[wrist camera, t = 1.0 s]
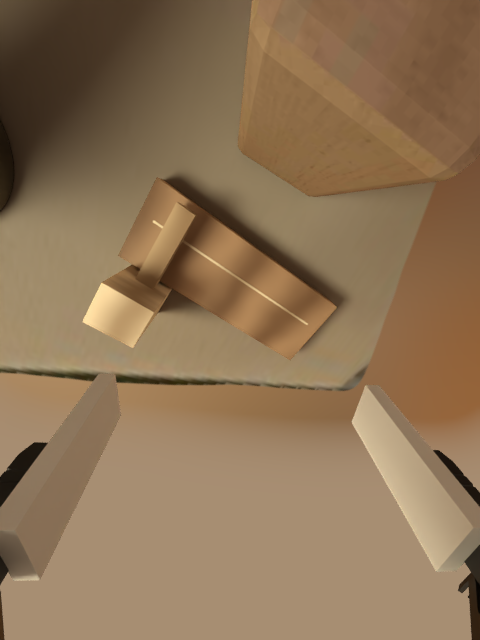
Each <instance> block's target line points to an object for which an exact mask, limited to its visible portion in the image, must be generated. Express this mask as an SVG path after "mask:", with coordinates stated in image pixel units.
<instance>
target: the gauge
mask: <svg viewBox="0 0 480 640" xmlns="http://www.w3.org/2000/svg"><path fill="white" fill-rule="evenodd" d="M196 217H197V214H195V213H194V212H192V211H191V210H190V209H188V208H187V207H185V206H184V205H182V204H181V203H180V202H176V204H175V206H174V208H173V210H172V212H171V214H170V215H169V217H168V219H167V221H166V223H165V225H164V227H163V228H162V230H161V232H160V234H159V236H158V238H157V240H156V241H155V243H154V245H153V247H152V249H151V251H150V253H149V254H148V256H147V258H146V260H145V262H144V264H143V266H142V267H141V269H139V268H138V267H136V266H134V265H131V266H129V267H127V268H126V269H124V270H122V271H121V272H119V273H117V274H115V275H114V276H112V277H110V278H109V279H107V280H105V281H103V282H102V283H101V285H100V287H99V289H98V291H97V293H96V295H95V297H94V299H93V301H92V303H91V305H90V307H89V309H88V312H87V314H86V316H85V318H84V320H83V322H84V323H86V324H88V325H89V326H91V327H93V328H95V329H97V330H99V331H101V332H103V333H105V334H107V335H109V336H111V337H113V338H115V339H116V340H118V341H120V342H122V343H124V344H126V345H128V346H130V347H132V348H133V347H134V346H135V344H136V343H137V342H138V340H139V339H140V337H141V336H142V334H143V333H144V332H145V330H146V329H147V327H148V326H149V324H150V323H151V322H152V320H153V319H154V317H155V316H156V315H157V313H158V312H159V310H160V308H161V307H162V305H163V303H164V302H165V300H166V298H167V297H168V295H169V293H170V292H171V290H172V288H171V287H169V286H167V285H166V284H164V283H162V282H161V281H160V279H161V277H162V275H163V274H164V272H165V270H166V269H167V267H168V265H169V263H170V262H171V260H172V258H173V256H174V255H175V253H176V251H177V249H178V248H179V246H180V244H181V243H182V241H183V239H184V237H185V236H186V234H187V232H188V230H189V229H190V227H191V225H192V224H193V222H194V220H195V218H196Z"/></svg>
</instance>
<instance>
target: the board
mask: <svg viewBox="0 0 480 640" xmlns="http://www.w3.org/2000/svg"><path fill="white" fill-rule="evenodd" d="M176 202H180V203H181V204H182V205H184V206H185V207H187V208H188V209H190V210H191V211H192V212H194V213H195V214H197V217H196V218H195V220H194V222H193V224H192V225H191V227H190V229H189V230H188V232H187V234H186V236H185V237H184V239H183V241H182V243H181V244H180V246H179V248H178V249H177V251H176V253H175V255H174V256H173V258H172V260H171V262H170V263H169V265H168V267H167V269H166V270H165V272H164V274H163V275H162V277H161V279H160V281H161V282H162V283H164V284H166V285H167V286H169V287H171V288H172V289H174V290H175V291H177V292H179V293H180V294H182V295H184V296H185V297H187V298H189V299H190V300H192V301H194V302H195V303H197V304H198V305H200V306H202V307H203V308H205V309H207V310H208V311H210V312H212V313H213V314H215V315H217V316H218V317H220V318H221V319H223V320H225V321H226V322H228V323H230V324H231V325H233V326H235V327H236V328H238V329H240V330H241V331H243V332H245V333H246V334H248V335H249V336H251V337H253V338H254V339H256V340H258V341H259V342H261V343H263V344H264V345H266V346H268V347H269V348H271V349H272V350H274V351H276V352H277V353H279V354H281V355H282V356H284V357H286V358H287V359H289V360H291V359H292V357H293V356H294V355H295V354H296V353H297V352H298V351H299V350H300V348H301V347H302V346H303V345H304V344H305V343H306V342H307V341H308V340H309V338H310V337H311V336H312V335H313V334H314V333H315V332H316V331H317V329H318V328H319V327H320V326H321V325H322V324H323V323H324V322H325V320H326V319H327V318H328V317H329V316H330V315H331V314H332V313H333V311H334V310H335V309H336V308H337V307H336V306H335V305H334V304H333V303H332V302H331V301H330V300H329V299H327V298H326V297H325V296H323V295H322V294H320V293H319V292H318V291H316V290H315V289H314V288H312V287H311V286H309V285H308V284H307V283H305V282H304V281H302V280H301V279H300V278H298V277H297V276H296V275H294V274H293V273H291V272H290V271H289V270H287V269H286V268H284V267H283V266H282V265H280V264H279V263H278V262H276V261H275V260H273V259H272V258H271V257H269V256H268V255H266V254H265V253H264V252H262V251H261V250H260V249H258V248H257V247H255V246H254V245H253V244H251V243H250V242H248V241H247V240H246V239H244V238H243V237H242V236H240V235H239V234H237V233H236V232H235V231H233V230H232V229H231V228H229V227H228V226H226V225H225V224H224V223H222V222H221V221H219V220H218V219H217V218H215V217H214V216H213V215H211V214H210V213H208V212H207V211H206V210H204V209H203V208H201V207H200V206H199V205H197V204H196V203H195V202H193V201H192V200H190V199H189V198H188V197H186V196H185V195H183V194H182V193H181V192H179V191H178V190H177V189H175V188H174V187H172V186H171V185H170V184H168V183H167V182H166V181H164V180H162V179H160V178H156V180H155V182H154V184H153V186H152V188H151V190H150V192H149V194H148V196H147V198H146V200H145V202H144V204H143V206H142V208H141V210H140V212H139V214H138V216H137V218H136V220H135V222H134V224H133V227H132V229H131V231H130V233H129V235H128V237H127V239H126V241H125V243H124V245H123V247H122V249H121V251H120V253H119V255H118V256H120V257H121V258H123V259H124V260H126V261H128V262H129V263H131V264H133V265H134V266H136V267H138V268H139V269H141V267H142V266H143V264H144V262H145V260H146V258H147V256H148V254H149V253H150V251H151V249H152V247H153V245H154V243H155V241H156V240H157V238H158V236H159V234H160V232H161V230H162V228H163V227H164V225H165V223H166V221H167V219H168V217H169V215H170V214H171V212H172V210H173V208H174V206H175V204H176Z"/></svg>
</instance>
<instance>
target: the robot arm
mask: <svg viewBox="0 0 480 640" xmlns="http://www.w3.org/2000/svg"><path fill="white" fill-rule="evenodd" d="M13 177H14V167H13V158H12V153H11V148H10V145H9V141H8V138H7V136H6V133H5V131H4V128H3V126H2V124H1V122H0V210H1V209H2V208H3V207H4V205H5V204H6V202H7V200H8V198H9V196H10V193H11V190H12V185H13ZM120 416H121V412H120V405H119V398H118V391H117V384H116V377H115V374H98V376H97V377H96V379H95V380H94V381H93V383H92V384H91V386H90V387H89V388H88V389H87V391H86V392H85V393H84V395H83V396H82V398H81V399H80V401H79V402H78V403H77V404H76V406H75V407H74V408H73V410H72V411H71V412H70V414H69V415H68V417H67V418H66V419H65V421H64V422H63V423H62V425H61V426H60V427H59V429H58V430H57V431H56V433H55V434H54V435H53V437H52V438H51V440H50V441H49V442H48V443H33V444H32V445H30V446H29V447H28V448H26V449H25V450H24V451H22V452H21V453H20V454H19V455H18V456H17V457H16V458H15V460H14V461H13V462H12V463H11V464H10V466H9V467H8V468H7V471H6V472H4V473H3V474H2V475H1V477H0V584H1V582H2V581H3V579H4V578H5V576H6V574H7V573H8V572H9V574H10V576H11V577H12V579H13V580H40V579H41V577H42V575H43V573H44V571H45V569H46V567H47V565H48V563H49V561H50V559H51V556H52V555H53V553H54V550H55V548H56V546H57V544H58V542H59V540H60V538H61V536H62V534H63V532H64V530H65V528H66V526H67V524H68V522H69V520H70V518H71V516H72V514H73V512H74V510H75V508H76V506H77V504H78V502H79V500H80V498H81V496H82V494H83V491H84V489H85V487H86V485H87V483H88V481H89V479H90V477H91V475H92V473H93V471H94V469H95V467H96V465H97V463H98V461H99V459H100V457H101V455H102V453H103V451H104V449H105V447H106V445H107V443H108V441H109V439H110V437H111V435H112V433H113V431H114V428H115V427H116V424H117V422H118V420H119V418H120ZM352 423H353V425H354V427H355V429H356V431H357V432H358V434H359V436H360V438H361V440H362V441H363V443H364V445H365V447H366V448H367V450H368V452H369V454H370V456H371V457H372V459H373V461H374V463H375V464H376V466H377V468H378V470H379V471H380V473H381V475H382V477H383V479H384V480H385V482H386V484H387V486H388V487H389V489H390V491H391V492H392V494H393V496H394V498H395V500H396V501H397V503H398V505H399V507H400V509H401V510H402V512H403V514H404V516H405V517H406V519H407V521H408V523H409V524H410V526H411V528H412V530H413V531H414V533H415V535H416V537H417V538H418V540H419V542H420V544H421V546H422V547H423V549H424V551H425V553H426V554H427V556H428V558H429V560H430V562H431V563H432V565H433V567H434V569H435V570H436V572H444V571H457V570H458V569H459V568H460V567H461V566H462V565H463V563H464V562H465V563H466V565H467V566H468V568H469V569H470V571H471V573H470V574H469V575H468V576H467V577H466V579H464V581H463V582H462V583H461V584H460V585H459V589H458V591H460V592H461V593H463V592H464V591H465V590H466V589H467V588H468V587H469V596H468V598H469V599H470V616H471V633H472V640H480V493H479V491H478V490H477V489H476V488H475V487H473V484H472V483H471V482H470V481H469V480H468V478H467V477H465V476H464V475H463V473H462V472H461V470H460V469H459V468H458V467H457V466H456V465H455V463H454V462H453V461H451V460H450V459H449V458H448V457H447V456H445V455H444V454H443V453H442V452H440V451H439V450H432V449H431V448H430V446H429V445H428V444H427V443H426V442H425V441H424V439H423V438H422V437H421V436H420V435H419V433H418V432H417V431H416V430H415V428H414V427H413V426H412V425H411V423H410V422H409V421H408V420H407V419H406V417H405V416H404V415H403V414H402V413H401V411H400V410H399V409H398V408H397V407H396V405H395V404H394V403H393V402H392V401H391V399H390V398H389V397H388V396H387V395H386V393H385V392H384V391H383V390H382V388H381V387H380V386H376V385H366V386H365V388H364V391H363V394H362V396H361V399H360V402H359V404H358V407H357V410H356V413H355V415H354V418H353V420H352ZM0 640H4V629H3V616H2V602H1V592H0Z"/></svg>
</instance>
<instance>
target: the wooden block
mask: <svg viewBox="0 0 480 640" xmlns="http://www.w3.org/2000/svg"><path fill="white" fill-rule="evenodd" d="M238 147H239V149H240V150H241V152H242V153H243V154H244V155H246V156H248V157H249V158H251V159H252V160H254V161H255V162H257V163H258V164H260V165H261V166H263V167H265V168H266V169H268V170H269V171H271V172H272V173H274V174H275V175H277V176H278V177H280V178H282V179H283V180H285V181H286V182H288V183H289V184H291V185H292V186H294V187H295V188H297V189H299V190H300V191H302V192H303V193H305V194H306V195H308V196H313V197H318V196H326V195H334V194H342V193H350V192H358V191H365V190H373V189H381V188H389V187H397V186H405V185H412V184H420V183H428V182H436V181H444V180H448V179H450V178H452V177H453V176H455V175H457V174H459V173H460V172H461V171H462V170H464V169H465V168H466V167H467V166H468V165H470V164H471V163H472V162H473V161H475V160H476V159H477V157H478V156H479V155H480V0H252V6H251V16H250V26H249V36H248V47H247V57H246V67H245V77H244V87H243V97H242V107H241V117H240V127H239V137H238Z"/></svg>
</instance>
